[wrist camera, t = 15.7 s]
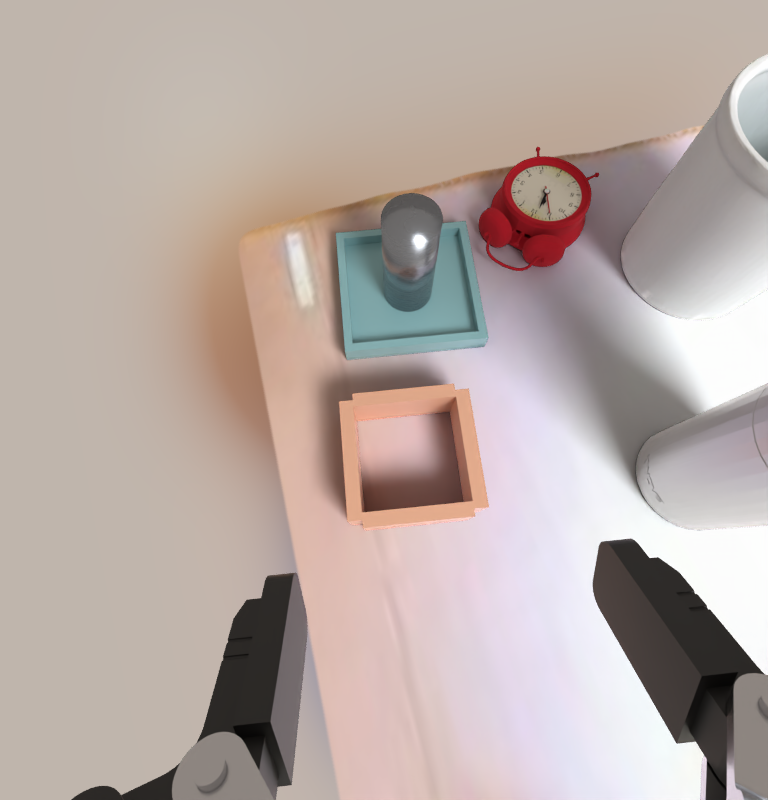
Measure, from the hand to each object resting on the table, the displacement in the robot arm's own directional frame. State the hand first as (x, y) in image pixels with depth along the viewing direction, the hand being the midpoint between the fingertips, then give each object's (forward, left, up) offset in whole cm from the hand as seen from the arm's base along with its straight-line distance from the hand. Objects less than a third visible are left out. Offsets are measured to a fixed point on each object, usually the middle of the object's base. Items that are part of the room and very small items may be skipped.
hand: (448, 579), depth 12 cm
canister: (-3, -26, -28) cm, 39 cm away
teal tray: (-3, -27, -29) cm, 39 cm away
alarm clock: (-18, -34, -29) cm, 48 cm away
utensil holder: (-33, -27, -29) cm, 51 cm away
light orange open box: (-1, -9, -29) cm, 30 cm away
